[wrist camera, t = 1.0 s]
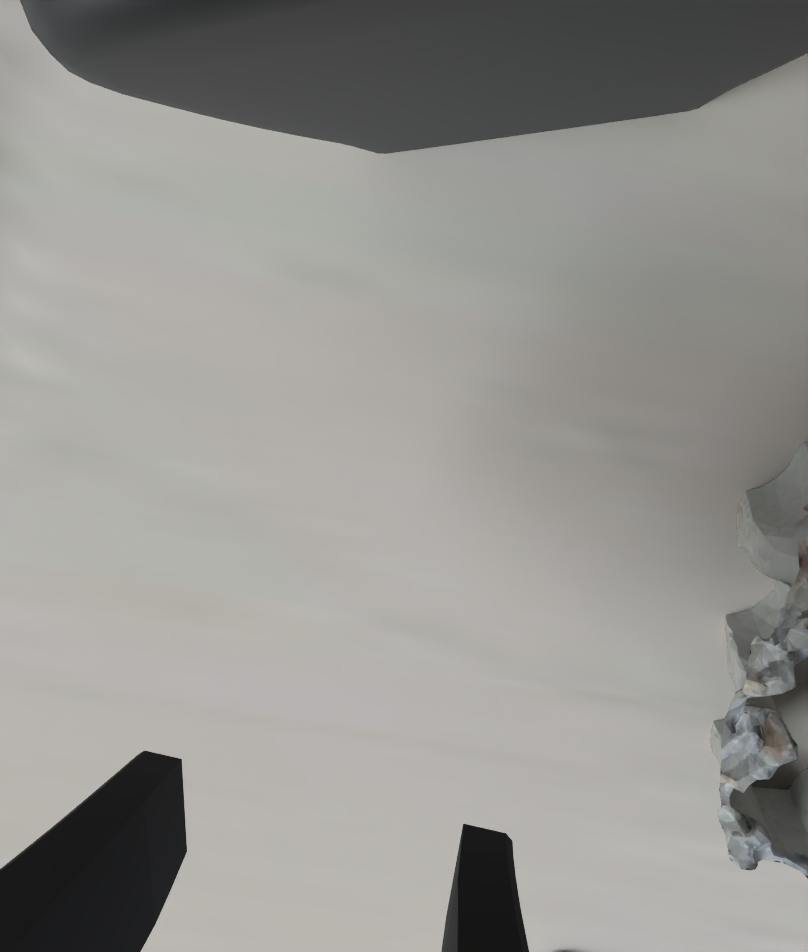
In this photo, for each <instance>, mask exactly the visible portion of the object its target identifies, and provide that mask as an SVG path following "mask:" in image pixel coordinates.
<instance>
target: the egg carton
mask: <svg viewBox="0 0 808 952" xmlns="http://www.w3.org/2000/svg"><path fill="white" fill-rule="evenodd" d="M737 532H738V542H737V547H742V548H743V549H744V550H745V551H746V552H747V553H748V554H749V556H750V558H751V561H752V563H753V564H754V565H755V566H756V568H758V569H759V570H760V571H761V572H762V573H763V574H764V575H766V576H768V577H770V578H773V579H775V580H777V582H776V585H775V588H774V589H773V590H772V591H771V592H770V594H769V595H768V596H767V597H766V598H765V599H764V600H763V601H762V602H760V603H759V604H757V605H756V606H754V607H753V608H751V609H749V610H746V611H743V612H740V613H736V614H729V615H726V616H725V630H726V641H727V660H728V671H729V674H730V676H731V678H732V679H733V682H734V685H735V687H736V689H737V692H736V694H735V696H734V699H733V701H732V703H731V706H730V708H729V711H728V713H727V715H726V718H725V719H723V720H716V721H713V725H712V728H711V731H710V745H711V750H712V753H713V754H714V756H715V758H716V759H717V761H718V762H719V764H720V766H721V778H720V789H719V790H720V796H721V802H722V803H721V808H719V809H718V810H717V814H718V818H719V821H720V823H721V825H722V828H723V830H724V832H725V835H726V838H727V846H728V851H729V854H728V856H729V858H730V859H731V861H732V862H734V863H735V864H736V865H737V866H738V867H740V868H741V869H745V870H753V869H756V867H757V865H758V861H760V860H769V861H775V862H780V863H785V864H787V865H789V866H791V867H794V868H796V869H798V870H800V871H802V873H803V874H804V875H805V876H806V877H807V878H808V768H807V769H805V770H804V771H802V772H801V773H800V774H799V775H798V776H797V777H796V778H795V780H794V781H793V783H792V785H791V786H790V788H788V789H775V788H759V787H751V784H752V783H753V782H755V781H756V780H762V779H771V777H772V776H773V775H774V774H775V772H776V771H777V769H778V768H779V766H781V765H784V764H787V763H789V762H792V761H795V760H797V759H798V755H797V744H796V743H795V741H794V740H793V739H792V737H791V735H790V733H789V731H788V729H787V727H786V725H785V723H784V721H783V719H782V717H781V715H780V713H779V711H778V709H777V707H776V704H775V702H774V700H773V698H772V696H771V695H777V694H782V693H784V692H787V691H789V690H791V689H793V688H795V687H796V682H795V674H794V667H795V665H796V664H798V663H800V662H801V661H803V660H804V659H806V658H807V657H808V442H804V443H802V444H801V445H800V447H799V449H798V451H797V453H796V455H795V456H794V458H793V459H792V461H791V463H790V464H789V466H788V467H787V468H786V469H785V470H784V471H783V472H782V473H781V474H780V475H779V476H778V477H777V478H776V479H774V480H772V481H771V482H769V483H767V484H766V485H764V486H762V487H758V488H754V489H751V490H747V491H746V492H745V493H744V495H743V496H742V497H741V500H740V502H739V506H738V511H737ZM807 696H808V693H807Z"/></svg>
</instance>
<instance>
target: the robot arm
mask: <svg viewBox="0 0 808 952" xmlns="http://www.w3.org/2000/svg"><path fill="white" fill-rule="evenodd" d="M186 852H187V846H186V829H185V812H184V794H183V777H182V760H181V759H179V758H174V757H170V756H165V755H161V754H157V753H152V752H148V751H143V752H142V753H140V754H139V755H137V756H136V757H135V758H134V759H133V760H131V761H130V762H129V763H128V764H127V765H125V766H124V767H123V768H122V769H121V770H120V771H118V772H117V773H116V774H115V775H114V776H113V777H111V778H110V779H109V780H108V781H107V782H106V783H104V784H103V785H102V786H101V787H100V788H99V789H97V790H96V791H95V792H94V793H93V794H92V795H90V796H89V797H88V798H87V799H86V800H84V801H83V802H82V803H81V804H80V805H79V806H77V807H76V808H75V809H74V810H73V811H71V812H70V813H69V814H68V815H67V816H65V817H64V818H63V819H62V820H61V821H59V822H58V823H57V824H56V825H55V826H53V827H52V828H51V829H50V830H48V831H47V832H46V833H45V834H43V835H42V836H41V837H40V838H38V839H37V840H36V841H35V842H34V843H32V844H31V845H30V846H29V847H27V848H26V849H25V850H24V851H22V852H21V853H20V854H19V855H17V856H16V857H15V858H14V859H12V860H11V861H10V862H9V863H7V864H6V865H5V866H4V867H2V868H1V869H0V952H140V951H141V949H142V948H143V946H144V944H145V942H146V940H147V938H148V937H149V935H150V933H151V931H152V929H153V927H154V926H155V924H156V921H157V919H158V917H159V915H160V912H161V910H162V908H163V906H164V903H165V901H166V899H167V897H168V895H169V892H170V890H171V888H172V885H173V883H174V881H175V878H176V876H177V873H178V871H179V869H180V866H181V864H182V862H183V859H184V857H185V855H186ZM442 952H529V949H528V945H527V940H526V935H525V929H524V924H523V919H522V914H521V908H520V902H519V896H518V890H517V883H516V876H515V868H514V859H513V845H512V840H511V839H510V838H509V837H508V835H507V834H506V833H501V832H497V831H493V830H488V829H484V828H480V827H475V826H471V825H466V824H463V829H462V834H461V840H460V845H459V851H458V856H457V862H456V867H455V873H454V878H453V883H452V889H451V894H450V900H449V905H448V911H447V916H446V923H445V931H444V938H443V945H442Z"/></svg>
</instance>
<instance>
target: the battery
mask: <svg viewBox="0 0 808 952" xmlns="http://www.w3.org/2000/svg"><path fill="white" fill-rule="evenodd" d="M20 1H21V4H22V6H23V9H24V12H25V14H26V17H27V19H28V22H29V24H30V27H31V29H32V31H33V32H34V34H35V35H36V36H37V37H38V39H39V40H40V41H41V42H42V44H43V45H44V46H45V48H46V49H47V50H48V51H49V53H50V54H51V55H52V56H53V57H54V58H55V59H56V60H57V61H58V62H59V63H61V64H62V65H63V66H64V67H65V68H66V69H67V70H68V71H69V72H71V73H73V74H75V75H77V76H79V77H81V78H83V79H84V80H86V81H88V82H90V83H93V84H96V85H99V86H102V87H104V88H107V89H110V90H113V91H116V92H118V93H121V94H124V95H128V96H132V97H136V98H140V99H143V100H147V101H151V102H155V103H158V104H162V105H166V106H170V107H174V108H178V109H182V110H186V111H190V112H194V113H198V114H202V115H206V116H210V117H214V118H218V119H222V120H226V121H231V122H235V123H240V124H244V125H249V126H253V127H258V128H262V129H267V130H272V131H277V132H282V133H288V134H293V135H298V136H303V137H308V138H313V139H319V140H325V141H330V142H336V143H341V144H346V145H350V146H354V147H357V148H361V149H365V150H368V151H372V152H375V153H385V154H386V153H394V152H401V151H408V150H416V149H423V148H430V147H437V146H445V145H452V144H459V143H466V142H473V141H480V140H488V139H495V138H502V137H509V136H516V135H523V134H530V133H538V132H545V131H552V130H559V129H566V128H573V127H580V126H587V125H594V124H601V123H608V122H615V121H622V120H629V119H636V118H643V117H650V116H657V115H664V114H671V113H678V112H685V111H690V110H693V109H697V108H700V107H701V106H703V105H704V104H706V103H708V102H709V101H711V100H713V99H715V98H716V97H718V96H720V95H722V94H724V93H725V92H727V91H729V90H731V89H733V88H735V87H737V86H739V85H741V84H743V83H745V82H747V81H749V80H751V79H753V78H756V77H758V76H760V75H762V74H764V73H767V72H769V71H771V70H773V69H775V68H777V67H779V66H781V65H783V64H786V63H788V62H790V61H792V60H794V59H796V58H798V57H800V56H802V55H804V54H806V53H808V0H20Z"/></svg>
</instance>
